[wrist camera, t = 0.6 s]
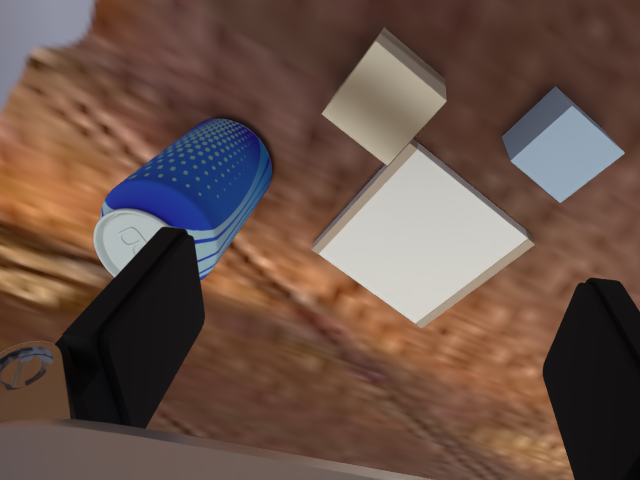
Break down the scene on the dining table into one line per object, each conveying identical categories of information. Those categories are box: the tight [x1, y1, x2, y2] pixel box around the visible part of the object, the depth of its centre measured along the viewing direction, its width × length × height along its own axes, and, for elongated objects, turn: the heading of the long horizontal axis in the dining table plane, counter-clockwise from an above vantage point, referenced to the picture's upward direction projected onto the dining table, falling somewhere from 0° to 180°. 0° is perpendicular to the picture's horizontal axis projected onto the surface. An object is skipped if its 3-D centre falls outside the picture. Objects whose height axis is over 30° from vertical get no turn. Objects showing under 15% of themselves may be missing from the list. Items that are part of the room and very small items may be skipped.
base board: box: [312, 138, 535, 329], centre depth 42 cm, size 14×14×2 cm
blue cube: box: [502, 86, 625, 203], centre depth 33 cm, size 5×5×5 cm
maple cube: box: [322, 27, 447, 166], centre depth 33 cm, size 6×6×6 cm
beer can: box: [94, 119, 272, 280], centre depth 35 cm, size 8×8×16 cm
